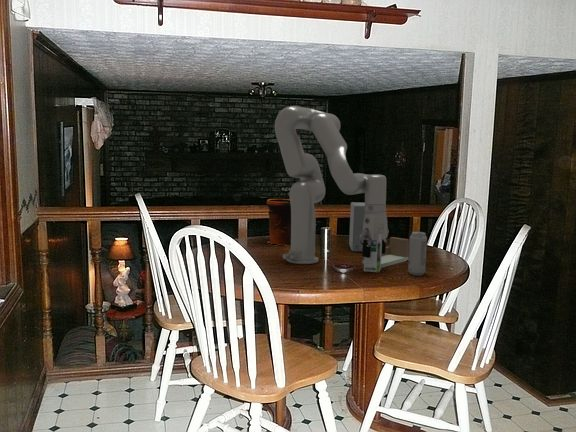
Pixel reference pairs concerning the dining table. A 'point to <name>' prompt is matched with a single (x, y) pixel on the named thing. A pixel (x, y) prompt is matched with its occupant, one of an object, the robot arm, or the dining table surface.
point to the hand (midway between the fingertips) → (374, 255)
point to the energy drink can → (417, 253)
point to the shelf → (390, 260)
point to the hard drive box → (356, 225)
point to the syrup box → (374, 256)
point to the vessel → (279, 221)
